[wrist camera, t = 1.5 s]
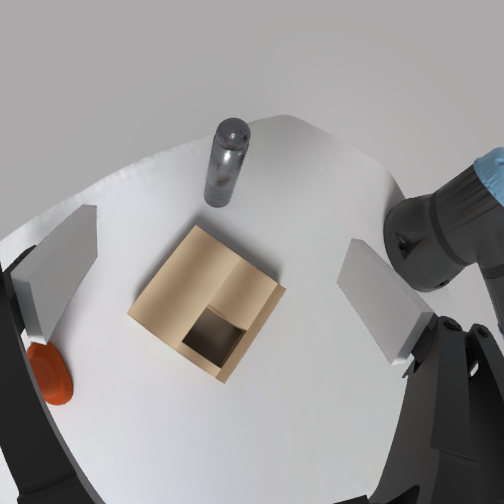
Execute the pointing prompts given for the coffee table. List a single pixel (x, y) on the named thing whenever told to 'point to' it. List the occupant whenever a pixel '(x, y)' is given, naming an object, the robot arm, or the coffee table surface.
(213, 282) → the block
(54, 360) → the toy drill
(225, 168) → the metal round-headed rod
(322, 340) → the coffee table surface
